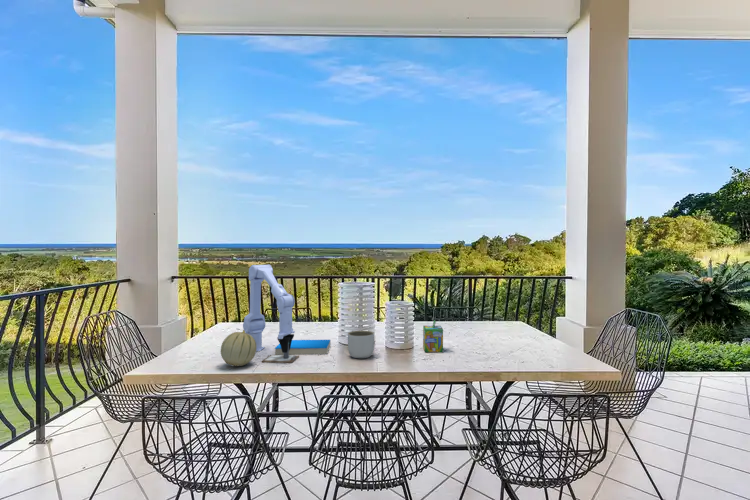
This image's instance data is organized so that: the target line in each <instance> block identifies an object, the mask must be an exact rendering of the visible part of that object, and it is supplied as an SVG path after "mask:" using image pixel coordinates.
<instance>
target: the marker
mask: <svg viewBox="0 0 750 500" xmlns="http://www.w3.org/2000/svg"><path fill="white" fill-rule="evenodd" d="M289 356H290V355H289V344H288V351H287V353H283V358H284V359H287V358H289Z"/></svg>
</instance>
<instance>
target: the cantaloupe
mask: <svg viewBox="0 0 750 500" xmlns="http://www.w3.org/2000/svg"><path fill="white" fill-rule="evenodd" d="M256 348H257V347H256V342H255V340H254V338H253V337H252V336H251V335H249V334H247V333H245V331H244V329H243V330H242V331H241V332H240V331H235V332H232V333H230V334H229V335H227V336H226V337H225V338H224V339H223V341H222V342H221V346H220V356H221V358H222V359H223V361H224V362H225V363H226V364H228V365H230V366H231V367H243V366H245V365H247V364H249V363H250V362H252V360H253V359H254V358H255V356H256V353H257V351H256Z"/></svg>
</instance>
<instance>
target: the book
mask: <svg viewBox="0 0 750 500" xmlns="http://www.w3.org/2000/svg"><path fill="white" fill-rule="evenodd" d="M331 345H332V344H331V339H292V342H291V347H290V350H289V356H299V355H301V356H302V355H303V356H304V355H306V356H307V355H327V354H328V352H329V350H330V348H331ZM274 350H275V352H274V353H275V354H274V355H283V353H282V349H281V345H280V343H279V344H278V345H276V346H275V348H274Z"/></svg>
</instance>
